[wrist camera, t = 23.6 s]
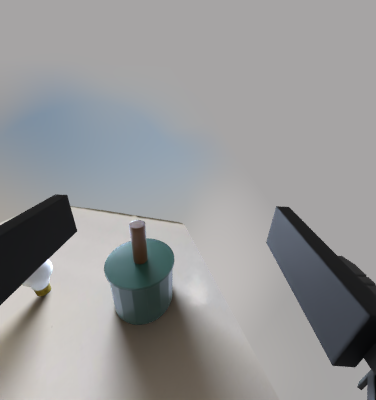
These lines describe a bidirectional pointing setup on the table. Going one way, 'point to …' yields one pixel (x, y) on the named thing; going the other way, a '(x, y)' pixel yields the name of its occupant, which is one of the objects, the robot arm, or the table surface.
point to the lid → (139, 261)
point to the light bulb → (40, 279)
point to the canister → (143, 302)
